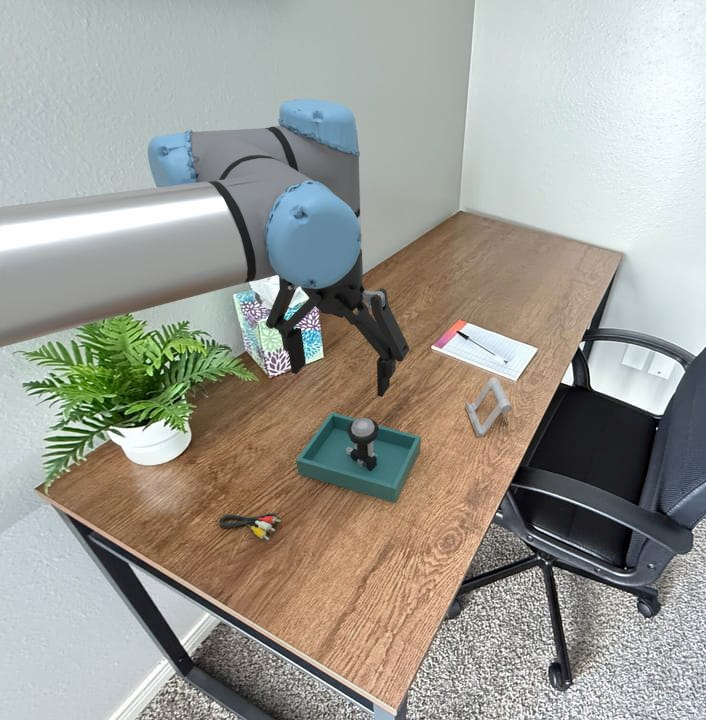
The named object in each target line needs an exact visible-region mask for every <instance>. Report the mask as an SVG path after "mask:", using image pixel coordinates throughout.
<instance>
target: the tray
mask: <svg viewBox="0 0 706 720" xmlns="http://www.w3.org/2000/svg"><path fill="white" fill-rule="evenodd" d="M356 419H357V418H354V417H351V416H347V415H343V414H340V413H336V412H332V411H331V412H330V413H329V414H328V416H327V417H326V418H325V420H324V421H323V422H322V424H321V425H320V427H319V428H318V429H317V430H316V432H315V433H314V435H313V436H312V437H311V439H310V440H309V441H308V443H307V444H306V446H304V448H303V450H302V451H301V452H300V454H299V455H298V457H296V459H295V462H296V468H297V472H298V475H299V476H302V477H306V478H309V479H312V480H316V481H320V482H322V483H326V484H329V485H333V486H336V487H340V488H344V489H347V490H349V491H354V492H357V493H359V494H364V495H367V496H370V497H374V498H377V499H380V500H385V501H387V502H391V503H394V504H396V503H397V501H398V499H399V497H400V494H401V492H402V490H403V488H404V487H405V484H406V482H407V479H408V478H409V475H410V473H411V472H412V469H413V466H414V465H415V463H416V461H417V458H418V457H419V454H420V452H421V439H422V436H420V435H416V434H413V433H409V432H406V431H402V430H399V429H394V428H391V427H387V426H385V425H380V424H378V427H379V431H378V434H377V437H376V439H375V440H374V441H373V447H374V451H375V454H377V455H378V464H377V465H376V466H375V467H374V468H373V470H372V471H369V470H368V469H367V467H366V466H364V465H363V467H360V466H361V465H360V464H359V465H360V466H358V464H357V462H356V461H354V460H353V459H352V458H351V456H350V455H349V454H347V453H346V452H347V450H346V449H347V448H348V447H350V448H352V449H354V446H355V443H353V442H352V441H351V439H350V437H349V436H348V433H347V428H348V426H349V424H350V423H351V422H353V421H354V420H356ZM373 432H374V431H373ZM352 434H353V432H352ZM348 450H350V449H348ZM349 453H350V452H349Z"/></svg>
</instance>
